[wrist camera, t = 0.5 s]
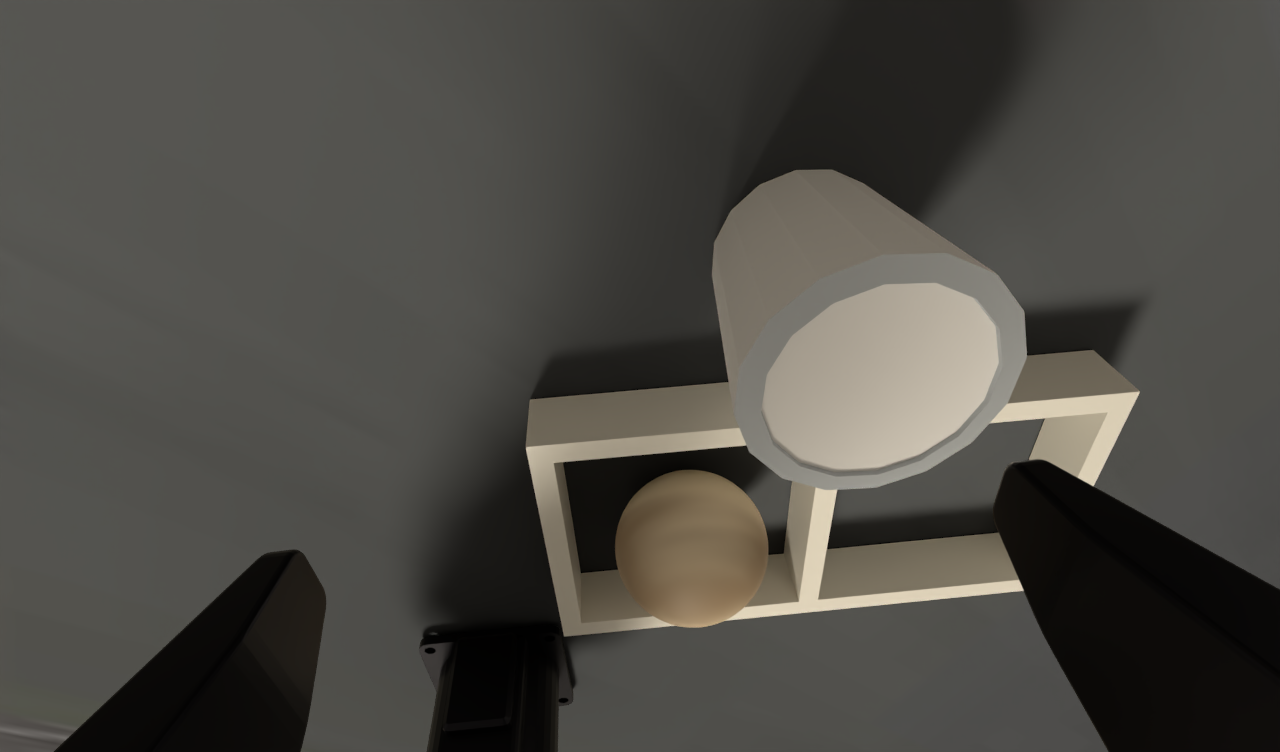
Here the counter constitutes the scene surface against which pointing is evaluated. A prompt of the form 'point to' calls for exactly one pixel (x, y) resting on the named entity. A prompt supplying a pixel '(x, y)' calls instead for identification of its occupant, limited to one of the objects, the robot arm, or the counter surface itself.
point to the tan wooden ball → (691, 548)
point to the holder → (805, 494)
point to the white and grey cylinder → (857, 334)
